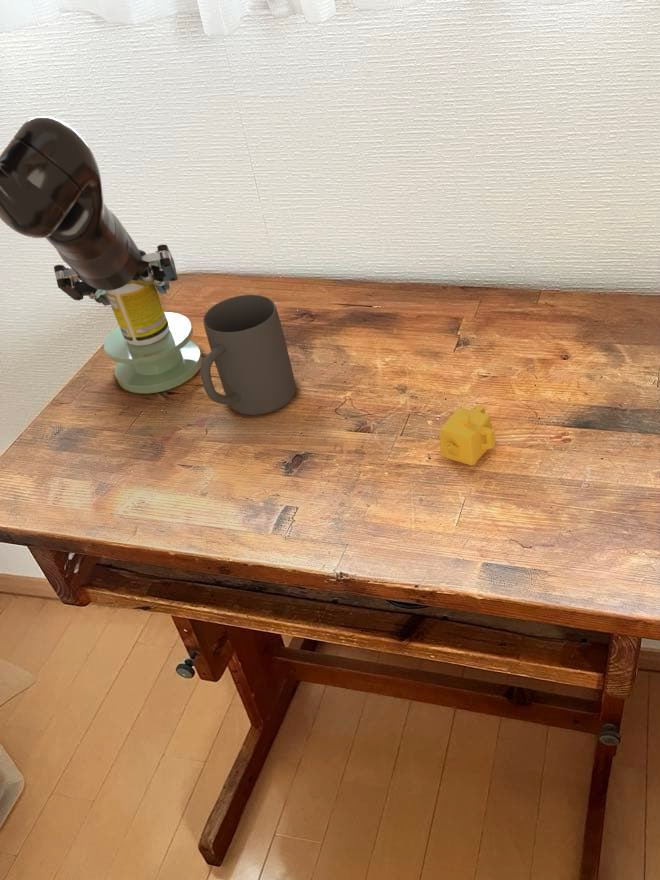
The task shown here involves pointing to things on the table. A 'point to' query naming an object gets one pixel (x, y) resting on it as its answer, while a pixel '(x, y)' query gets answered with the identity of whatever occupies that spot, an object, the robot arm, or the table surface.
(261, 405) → the mug
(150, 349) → the stand
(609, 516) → the table surface
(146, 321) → the pill bottle
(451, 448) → the yellow snap cube
